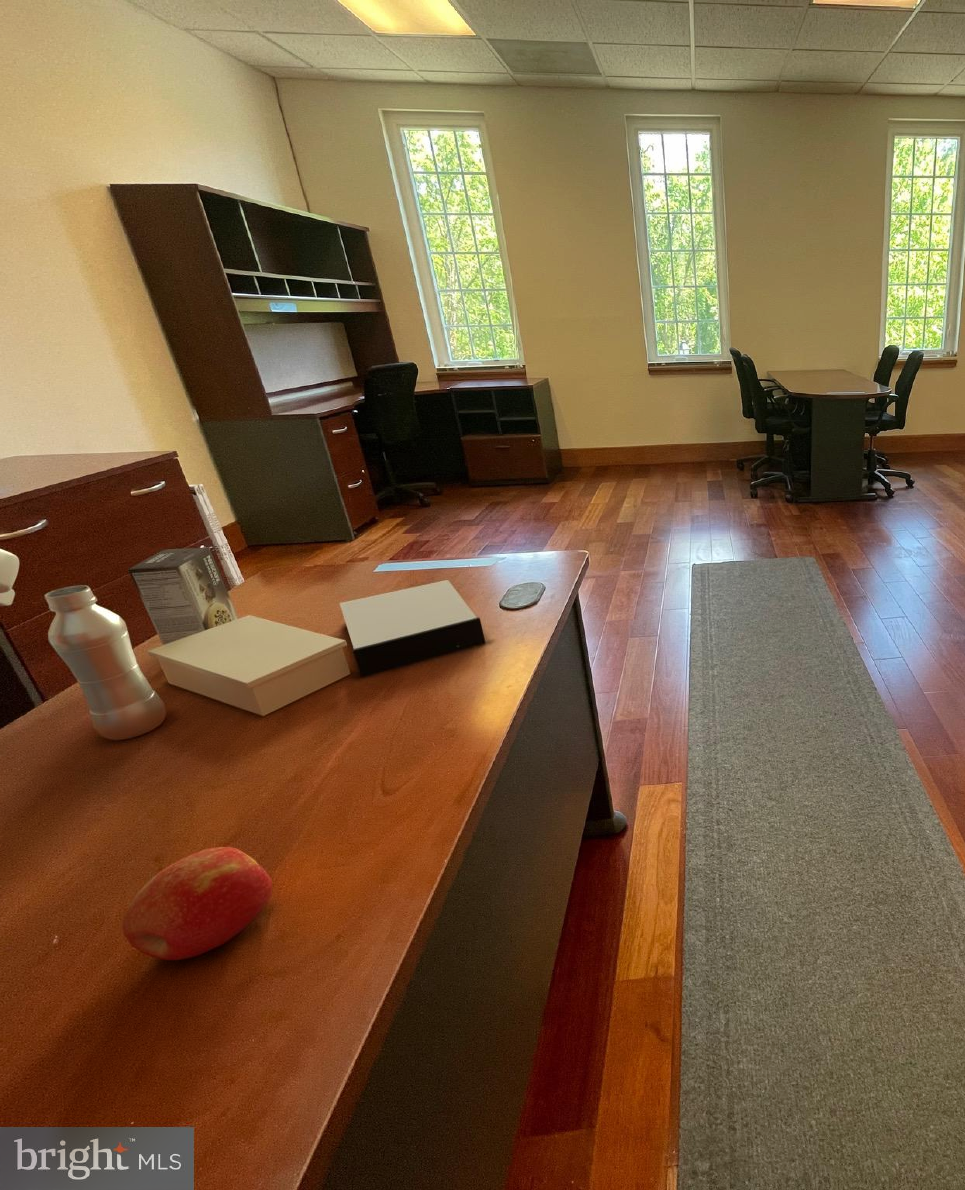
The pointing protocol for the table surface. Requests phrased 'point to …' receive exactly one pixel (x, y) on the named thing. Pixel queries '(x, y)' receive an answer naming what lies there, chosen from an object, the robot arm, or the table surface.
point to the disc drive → (409, 626)
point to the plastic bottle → (103, 664)
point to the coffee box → (183, 592)
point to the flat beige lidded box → (253, 663)
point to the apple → (197, 904)
